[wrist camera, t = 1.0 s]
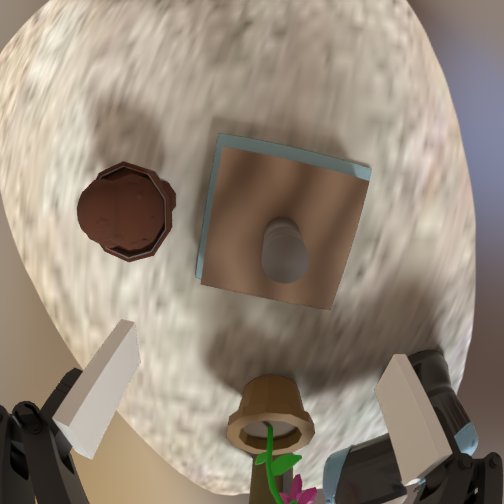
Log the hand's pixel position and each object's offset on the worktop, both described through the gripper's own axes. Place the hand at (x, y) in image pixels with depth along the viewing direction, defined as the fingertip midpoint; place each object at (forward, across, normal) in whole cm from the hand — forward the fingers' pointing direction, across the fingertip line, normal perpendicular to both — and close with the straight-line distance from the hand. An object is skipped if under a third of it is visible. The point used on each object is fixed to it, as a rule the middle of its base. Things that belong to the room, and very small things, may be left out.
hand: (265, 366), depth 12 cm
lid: (+25, -2, 0) cm, 25 cm away
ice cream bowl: (+26, +15, -2) cm, 30 cm away
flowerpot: (+25, -6, +31) cm, 40 cm away
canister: (+24, -11, +57) cm, 63 cm away
